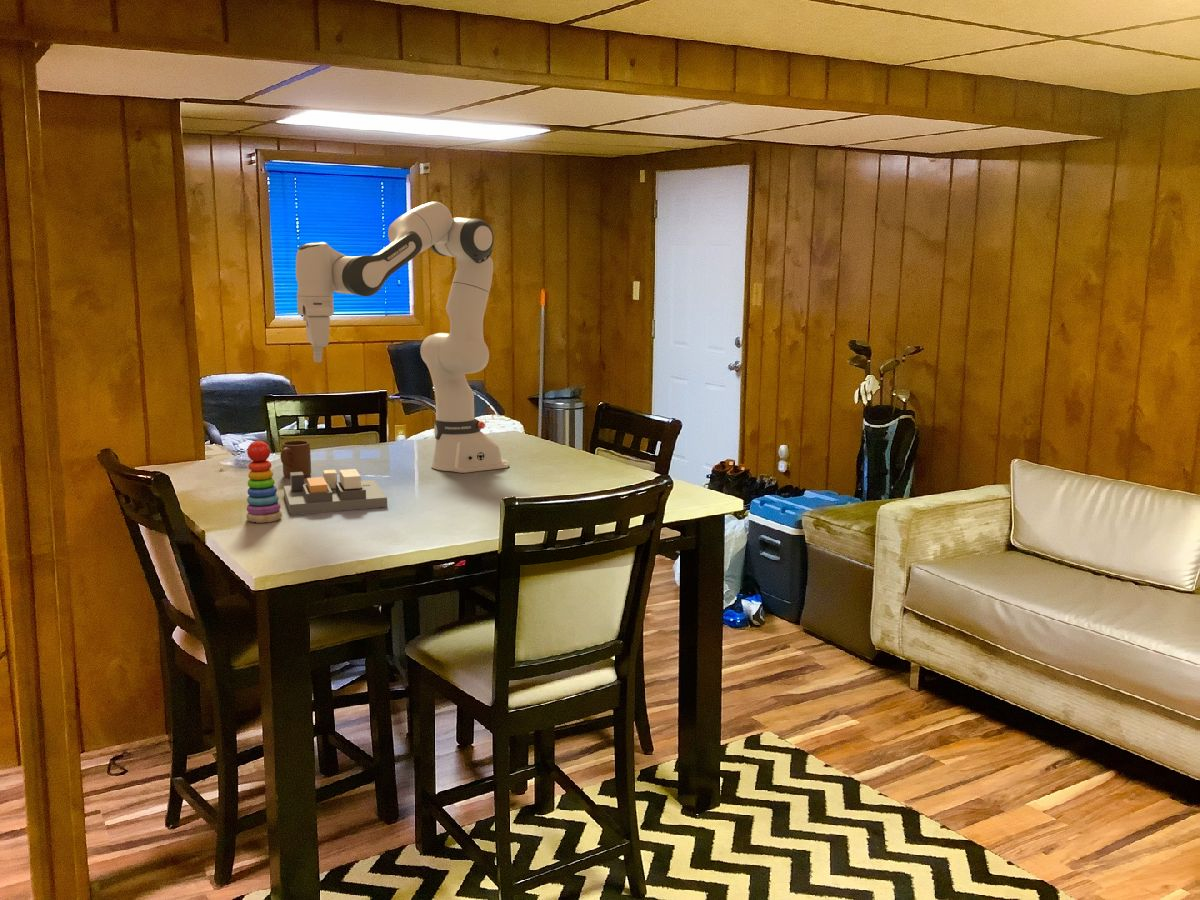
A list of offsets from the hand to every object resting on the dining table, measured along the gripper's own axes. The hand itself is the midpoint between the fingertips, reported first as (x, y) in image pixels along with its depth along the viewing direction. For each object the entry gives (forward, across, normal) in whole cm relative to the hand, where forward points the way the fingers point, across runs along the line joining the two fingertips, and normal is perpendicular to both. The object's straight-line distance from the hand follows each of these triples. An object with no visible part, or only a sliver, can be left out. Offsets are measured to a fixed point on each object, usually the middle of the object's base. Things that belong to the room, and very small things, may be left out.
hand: (317, 361), depth 260 cm
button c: (+31, +16, -3) cm, 35 cm away
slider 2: (+31, +7, +1) cm, 32 cm away
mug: (+34, -20, -6) cm, 40 cm away
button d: (+29, +16, +5) cm, 34 cm away
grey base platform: (+34, +12, +2) cm, 36 cm away
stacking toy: (+34, +25, -16) cm, 45 cm away
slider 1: (+31, +7, -7) cm, 33 cm away
